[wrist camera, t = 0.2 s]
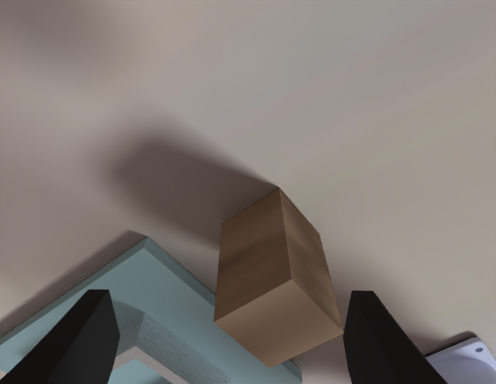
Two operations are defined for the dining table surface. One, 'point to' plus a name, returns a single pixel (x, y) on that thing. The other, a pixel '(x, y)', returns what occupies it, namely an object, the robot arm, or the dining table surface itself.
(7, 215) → the dining table surface
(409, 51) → the dining table surface
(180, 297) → the board
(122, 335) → the socket
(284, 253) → the peg
